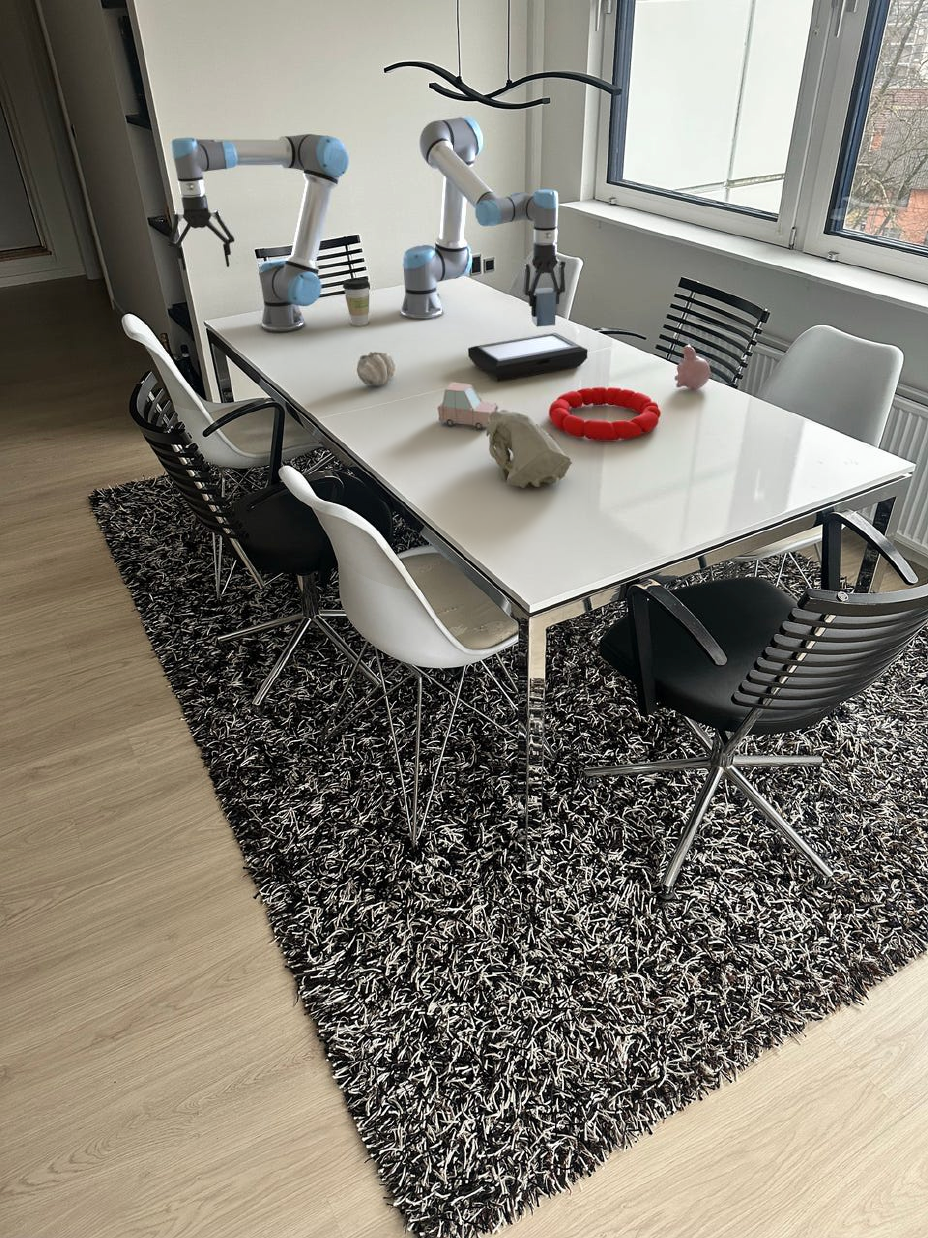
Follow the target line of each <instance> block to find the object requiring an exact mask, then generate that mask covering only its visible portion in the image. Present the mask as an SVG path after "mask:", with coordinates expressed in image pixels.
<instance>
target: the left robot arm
mask: <svg viewBox="0 0 928 1238" xmlns="http://www.w3.org/2000/svg"><path fill="white" fill-rule="evenodd" d="M170 145H171V151H172V159H173V163H174V167H175V172H176V177H177V184H178V188H179V194H180V195H181V198H180V199H181V204H182V211H183V213H178V212H175V213H174V214H173V221H174V222H173V226H172V230H171V233H170V237H169V241H168V246H169V247H172V248H174V249H175V253H176V258H177V259H178V260H181V265H182V271H187V265H186V259H185V254H184V249H183V246H181V244H182V242H183V241H184V239H185V238H186V236H187V234H188V232H189V231H190V229H191V228H192V229H198V228H200V229H205V228H206V227H207V228H208V230H210V231H211V232H213V233H214V235H216V237H218V238H219V239H220V240H221V242H223V244H222V246H223V252H224V259H225V263H226V265H225V266H226V267H227V268H229V267H230V260H229V256H231V255H232V250H231V244H232V243H234V242H235V237H234V235H233V233H232V232H231V231H230V229H229V227H228V226H227V224H226V223H225V222H224V220H223V218H222V216H221V213H220V211H219V210H218V209H216V210H215V211H210V209H209V204H208V199H207V196H206V194H205V193H206V187H205V182H204V177H203V173H206V172H213V171H221V170H228V169H233V168H235V167H236V166H237V167H238V166H239V167H241V166H280V167H281V168H282V169H292V170H293V169H294V170H297V171H303V172H302V173H303V174H302V175H303V178H304V180H305V186H304V190H303V191H304V192H303V196H302V201H301V207H300V210H299V215H298V221H297V226H296V230H295V235H294V240H293V244H292V250H291V255H290V256H289V257H287V258H277V259H271V260H266V261H262V262H260V263H259V264H258V275H259V281H260V287H261V292H262V293H261V294H262V299H263V313H262V319H261V326H262V330H264V331H265V332H271V333H286V332H293V331H296V330H297V331H298V330H300V329H302V328H304V326H305V318H304V317H303V314H302V312H301V310H300V307H308V306H311V305H313V304H314V303H315V302H317V301H318V300H319V297H320V295H321V292H322V282H321V281H320V280H321V279H320V277H318V276H319V273H320V268H319V266H318V265H317V260H318V256H319V251H320V246H321V241H322V236H323V232H324V227H325V223H326V218H327V212H328V208H329V203H330V200H331V194H332V191H333V189H335V188H336V187H338V184H339V180H340V177H342V176H343V175H344V174H345V173H347V170H348V168H349V164H350V157H349V152H348V149H347V147H346V146H345V144H344V142H343V141H341V140H340V139H339V138H337V137H334V136H330V135H323V134H321V135H320V134H315V133H314V134H313V133H307V134H304V133H303V134H297V135H288V136H286V135H285V136H283V135H282V136H280V137H279V138H278V139H222V138H221V139H217V138H215V139H214V138H213V139H212V138H211V139H204V138H203V139H201V138H194V137H178V138H174V139H172V140H171V143H170ZM211 217H213V219H214V220H216V221H217V223H218V224H219V226H220V228H221V229H222V230H223V232H224V233H225V235H226V236H227V237H226V236H225V235H224V234H223V232H221V231H220V230H219V229H218V228H217V227H216V226H215V225H214V224H213V222H211V220H210V219H211ZM182 219H184V221H185V222H186V225H185V226H184V228H183V230H182V232H181V233H180V234H179V237H178V238H177V240H176V241H175V238H176V234H177V231H178V228H179V222H181V221H182Z"/></svg>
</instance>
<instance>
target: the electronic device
mask: <svg viewBox="0 0 928 1238" xmlns="http://www.w3.org/2000/svg"><path fill="white" fill-rule="evenodd" d="M467 353H468V354H467V355H468V358H469V359H470V360H471V361H472V363H473V364H474V366H475V367H477V368H478V369H479V370H481V371H483V372H484V373H486V374H487V375H489V376H490V377H491V378H493V379H494V380H496V381H497V382H500V381H507V380H511V379H517V378H522V377H528V376H534V375H539V374H544V373H550V372H555V371H561V370H567V369H571V368H578V367H580V366H582V365H583V363H584V362H585V361H586V360H587V359H588V349H586V348H585V347H583V346H581V345H579V344H578V343H576V342H574V341H572V340H570V339H568V338H566V337H565V336H562V335H560V333H557V332H551V333H545V334H539V335H533V336H528V337H522V338H515V339H509V340H505V341H497V342H492V343H485V344H481V345H475V346H474V345H473V346H471V347H468V349H467Z"/></svg>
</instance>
